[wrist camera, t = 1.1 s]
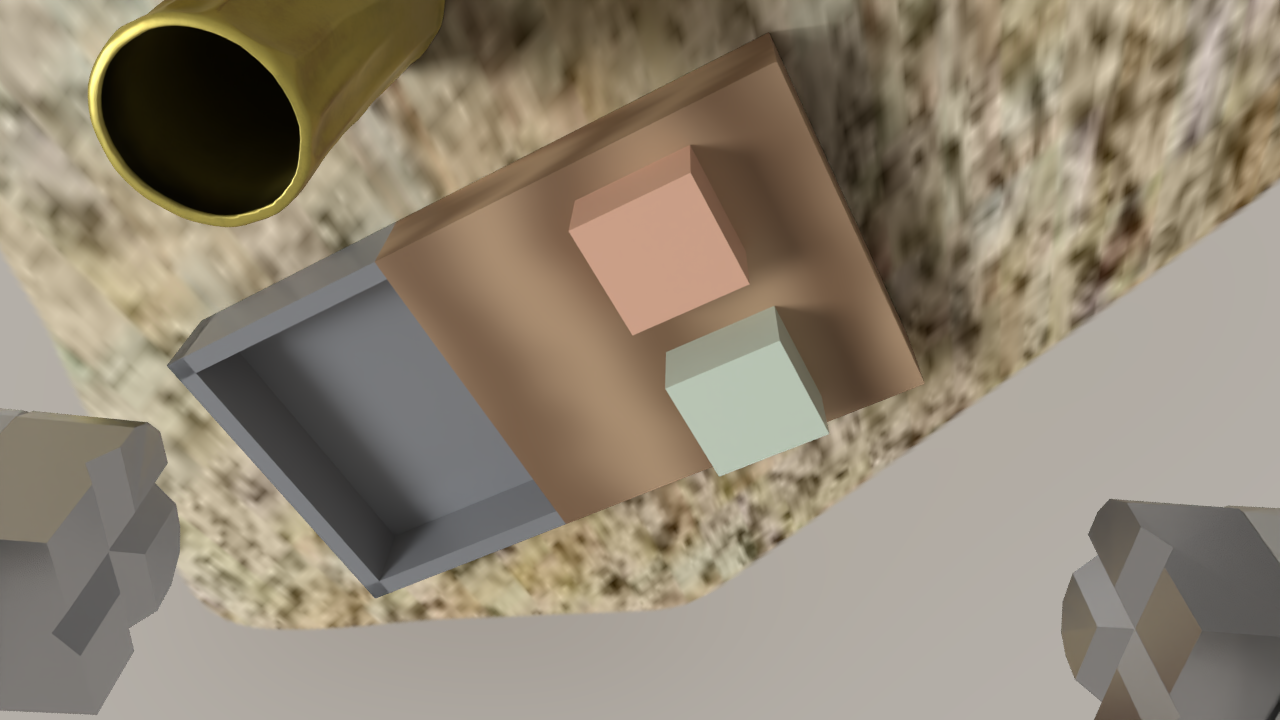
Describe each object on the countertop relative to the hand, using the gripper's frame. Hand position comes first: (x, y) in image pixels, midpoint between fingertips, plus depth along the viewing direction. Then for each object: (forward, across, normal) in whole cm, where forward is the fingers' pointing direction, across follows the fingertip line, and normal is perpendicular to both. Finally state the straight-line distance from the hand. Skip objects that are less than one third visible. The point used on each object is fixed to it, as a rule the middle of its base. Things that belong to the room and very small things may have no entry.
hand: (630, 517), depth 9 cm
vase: (+31, +10, +3) cm, 33 cm away
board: (+30, -1, +13) cm, 33 cm away
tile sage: (+27, -5, +15) cm, 31 cm away
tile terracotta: (+27, -1, +9) cm, 29 cm away
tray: (+31, +10, +20) cm, 38 cm away
